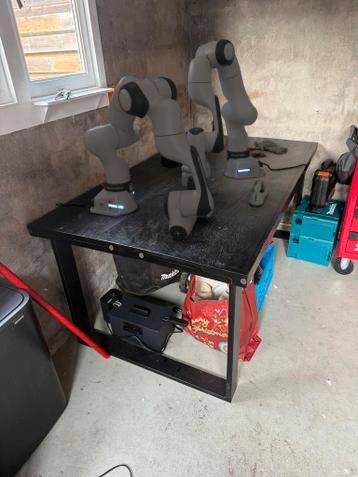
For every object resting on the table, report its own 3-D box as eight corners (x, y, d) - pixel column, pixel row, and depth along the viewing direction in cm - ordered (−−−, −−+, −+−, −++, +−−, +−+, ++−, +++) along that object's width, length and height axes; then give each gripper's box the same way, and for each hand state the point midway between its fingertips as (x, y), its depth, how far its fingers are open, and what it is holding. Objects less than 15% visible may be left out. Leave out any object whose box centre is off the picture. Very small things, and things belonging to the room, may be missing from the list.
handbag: (171, 168, 206) (169, 126, 194) (160, 166, 211) (156, 125, 198) (188, 159, 221) (187, 120, 209) (177, 157, 226) (175, 119, 213)
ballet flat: (269, 188, 169) (270, 173, 165) (265, 208, 149) (266, 191, 145) (252, 187, 171) (253, 172, 167) (246, 206, 151) (247, 190, 147)
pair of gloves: (252, 159, 212) (252, 151, 209) (231, 150, 233) (231, 143, 230) (289, 152, 222) (290, 144, 219) (266, 144, 242) (267, 137, 240)
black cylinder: (197, 209, 152) (196, 174, 143) (200, 213, 148) (199, 178, 139) (187, 210, 151) (185, 175, 143) (189, 215, 147) (188, 179, 139)
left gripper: (211, 209, 132) (216, 195, 144) (163, 206, 137) (171, 193, 148) (211, 223, 135) (216, 208, 147) (164, 220, 140) (172, 206, 152)
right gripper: (202, 157, 167) (203, 183, 173) (178, 168, 153) (180, 196, 159) (213, 158, 163) (213, 185, 170) (190, 170, 149) (190, 198, 156)
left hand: (193, 201), depth 148 cm, fingers closed on black cylinder, 5 cm apart
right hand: (197, 190), depth 165 cm, fingers closed on lid, 5 cm apart
